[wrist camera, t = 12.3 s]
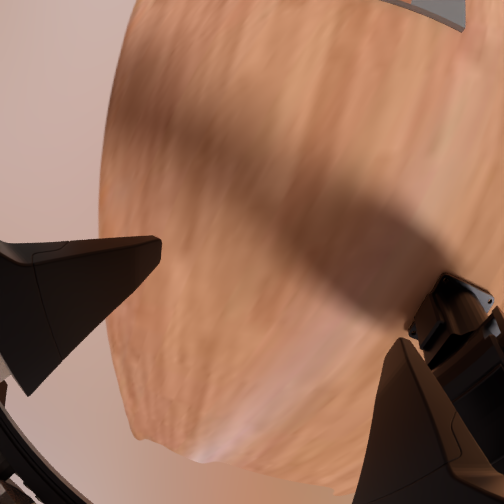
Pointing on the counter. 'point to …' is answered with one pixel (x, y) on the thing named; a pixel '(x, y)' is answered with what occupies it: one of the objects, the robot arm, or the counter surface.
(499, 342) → the robot arm
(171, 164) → the counter surface
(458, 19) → the socket stand
